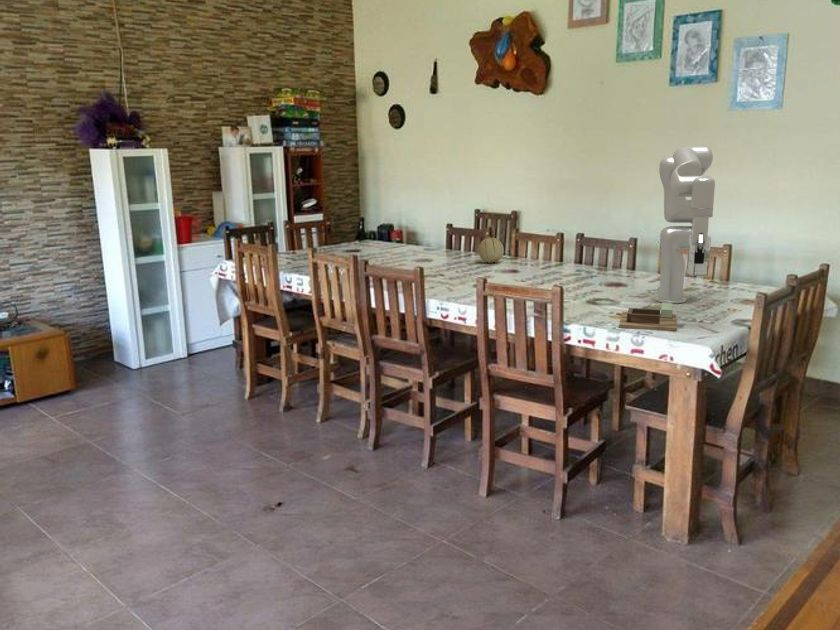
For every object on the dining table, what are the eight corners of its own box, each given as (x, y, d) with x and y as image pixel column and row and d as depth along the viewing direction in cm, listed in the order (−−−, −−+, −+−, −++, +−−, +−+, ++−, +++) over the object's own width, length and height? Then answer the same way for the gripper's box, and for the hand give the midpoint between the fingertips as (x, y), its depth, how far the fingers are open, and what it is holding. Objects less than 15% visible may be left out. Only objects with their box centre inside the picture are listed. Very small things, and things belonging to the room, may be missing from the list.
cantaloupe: (493, 265, 405) (493, 239, 402) (472, 263, 415) (472, 237, 412) (509, 262, 416) (509, 236, 413) (488, 260, 426) (488, 234, 422)
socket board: (622, 314, 288) (623, 304, 287) (676, 317, 281) (676, 306, 280) (619, 327, 267) (619, 316, 266) (676, 331, 261) (677, 319, 260)
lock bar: (661, 309, 287) (661, 302, 287) (672, 310, 286) (672, 302, 286) (660, 317, 275) (661, 309, 275) (672, 317, 274) (672, 310, 274)
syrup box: (701, 272, 269) (704, 233, 266) (708, 275, 263) (711, 235, 260) (686, 273, 269) (689, 234, 265) (693, 276, 263) (695, 236, 260)
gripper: (689, 210, 270) (686, 257, 274) (691, 215, 254) (688, 265, 258) (711, 210, 268) (707, 258, 272) (714, 215, 252) (710, 266, 256)
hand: (698, 261), depth 265 cm, fingers closed on syrup box, 7 cm apart
